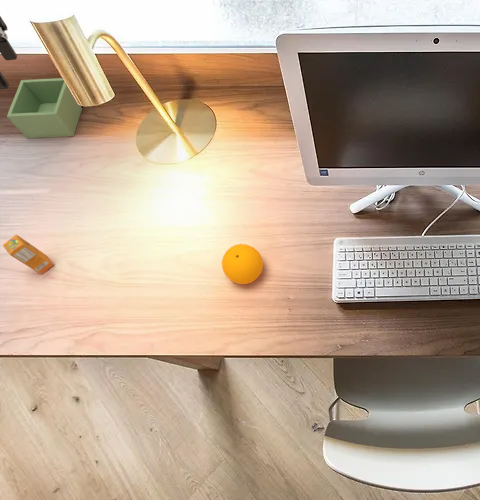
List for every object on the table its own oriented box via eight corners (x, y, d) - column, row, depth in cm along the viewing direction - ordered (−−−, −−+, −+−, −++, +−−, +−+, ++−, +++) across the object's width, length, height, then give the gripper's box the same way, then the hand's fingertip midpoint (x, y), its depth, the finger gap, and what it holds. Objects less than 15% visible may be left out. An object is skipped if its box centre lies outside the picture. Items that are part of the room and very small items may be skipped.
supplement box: (32, 266, 103) (0, 243, 94) (47, 255, 104) (17, 232, 95) (40, 276, 102) (8, 254, 93) (55, 265, 103) (25, 242, 94)
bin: (27, 138, 120) (6, 116, 113) (39, 102, 125) (21, 79, 119) (73, 136, 120) (56, 114, 113) (84, 100, 125) (68, 77, 118)
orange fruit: (273, 265, 101) (266, 248, 94) (249, 296, 98) (240, 280, 91) (243, 247, 103) (234, 229, 97) (219, 276, 100) (208, 260, 94)
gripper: (-65, -35, 81) (-6, 52, 95) (-90, 13, 74) (-23, 100, 87) (-16, -39, 82) (35, 48, 96) (-36, 8, 74) (22, 95, 88)
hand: (7, 73), depth 91 cm, fingers open, 8 cm apart
